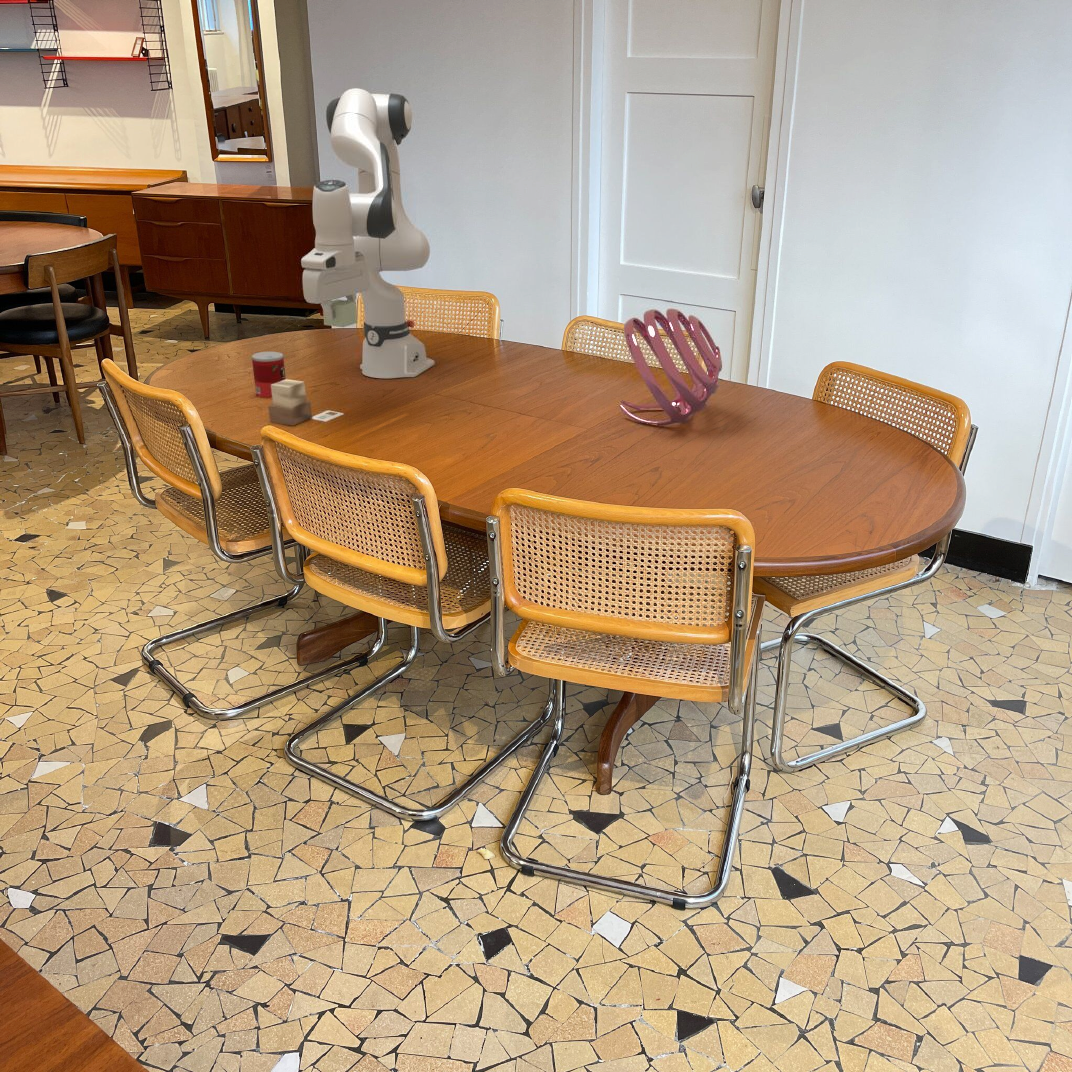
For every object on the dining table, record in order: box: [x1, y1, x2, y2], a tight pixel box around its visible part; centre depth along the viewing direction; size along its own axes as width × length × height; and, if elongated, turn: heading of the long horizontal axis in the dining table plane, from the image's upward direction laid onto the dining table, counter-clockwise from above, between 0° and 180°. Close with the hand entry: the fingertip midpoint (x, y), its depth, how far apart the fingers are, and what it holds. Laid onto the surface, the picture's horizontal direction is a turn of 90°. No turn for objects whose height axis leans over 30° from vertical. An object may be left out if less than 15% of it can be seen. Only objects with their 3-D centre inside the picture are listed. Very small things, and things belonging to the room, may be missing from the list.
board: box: [309, 409, 345, 423], centre depth 242 cm, size 18×18×1 cm
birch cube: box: [271, 378, 308, 408], centre depth 238 cm, size 6×6×5 cm
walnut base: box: [267, 400, 313, 427], centre depth 240 cm, size 7×7×4 cm
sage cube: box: [322, 298, 358, 328], centre depth 235 cm, size 6×6×5 cm
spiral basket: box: [618, 308, 723, 426], centre depth 242 cm, size 28×28×27 cm
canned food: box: [251, 351, 287, 399], centre depth 258 cm, size 8×8×11 cm
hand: (339, 316), depth 235 cm, fingers closed on sage cube, 5 cm apart
